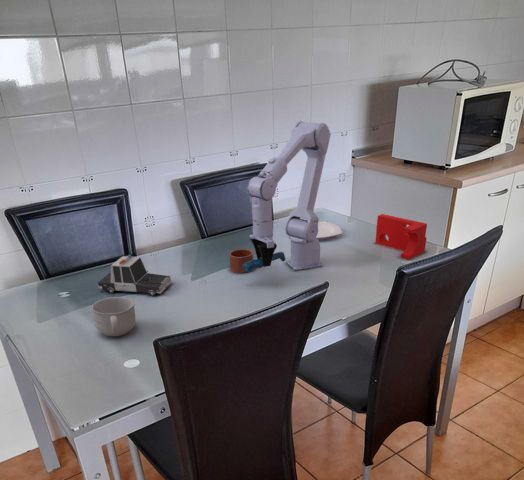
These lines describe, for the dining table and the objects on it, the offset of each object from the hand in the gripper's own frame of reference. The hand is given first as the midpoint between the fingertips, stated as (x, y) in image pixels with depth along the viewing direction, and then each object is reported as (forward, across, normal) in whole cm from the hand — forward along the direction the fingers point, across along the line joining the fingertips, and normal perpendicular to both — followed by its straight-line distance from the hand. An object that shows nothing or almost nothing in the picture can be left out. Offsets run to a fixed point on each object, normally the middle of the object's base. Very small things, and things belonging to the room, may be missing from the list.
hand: (264, 262), depth 155 cm
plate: (+6, -35, +33) cm, 49 cm away
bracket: (+7, -8, +52) cm, 53 cm away
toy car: (+6, -11, -39) cm, 41 cm away
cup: (+6, -13, -4) cm, 15 cm away
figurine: (+2, 0, 0) cm, 2 cm away
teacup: (+6, +17, -47) cm, 50 cm away
